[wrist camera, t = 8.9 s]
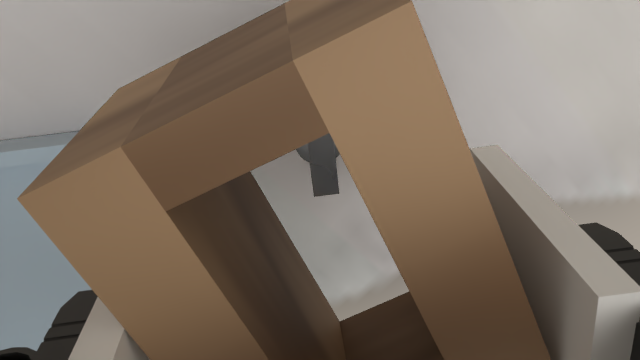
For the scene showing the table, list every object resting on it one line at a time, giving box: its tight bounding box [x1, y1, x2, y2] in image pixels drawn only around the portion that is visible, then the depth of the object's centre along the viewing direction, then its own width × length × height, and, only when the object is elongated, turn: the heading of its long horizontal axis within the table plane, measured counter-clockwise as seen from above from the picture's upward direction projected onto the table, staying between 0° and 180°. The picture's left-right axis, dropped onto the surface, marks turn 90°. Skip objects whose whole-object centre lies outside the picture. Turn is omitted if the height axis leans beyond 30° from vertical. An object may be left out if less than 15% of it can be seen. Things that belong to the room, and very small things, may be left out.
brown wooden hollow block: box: [17, 0, 551, 360], centre depth 13 cm, size 12×6×6 cm, turn 26°
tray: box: [0, 131, 92, 351], centre depth 32 cm, size 13×18×2 cm
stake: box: [296, 133, 340, 197], centre depth 24 cm, size 2×4×11 cm, turn 6°
